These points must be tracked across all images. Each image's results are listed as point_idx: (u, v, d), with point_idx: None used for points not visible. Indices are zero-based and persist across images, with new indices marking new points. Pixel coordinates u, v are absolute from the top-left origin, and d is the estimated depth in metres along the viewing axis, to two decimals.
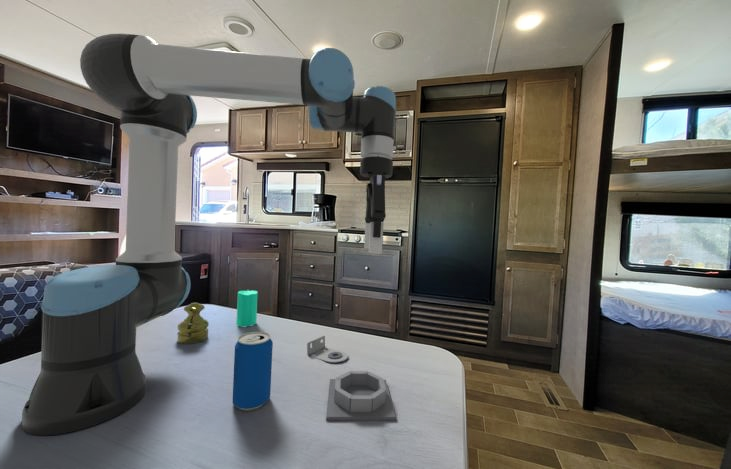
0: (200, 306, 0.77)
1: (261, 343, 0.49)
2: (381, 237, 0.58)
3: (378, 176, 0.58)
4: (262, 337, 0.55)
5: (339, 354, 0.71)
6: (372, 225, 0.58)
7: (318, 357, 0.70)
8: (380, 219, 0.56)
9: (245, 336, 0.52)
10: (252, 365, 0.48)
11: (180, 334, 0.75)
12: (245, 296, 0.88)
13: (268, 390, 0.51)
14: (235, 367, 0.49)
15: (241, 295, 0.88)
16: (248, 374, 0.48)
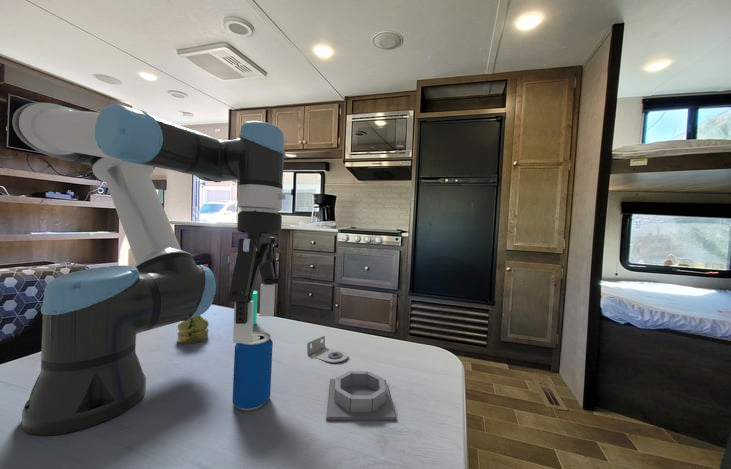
0: None
1: (261, 343, 0.49)
2: (249, 321, 0.44)
3: (245, 241, 0.44)
4: (262, 337, 0.55)
5: (339, 354, 0.71)
6: None
7: (318, 357, 0.70)
8: (241, 301, 0.42)
9: None
10: (252, 365, 0.48)
11: (180, 334, 0.75)
12: None
13: (268, 390, 0.51)
14: (235, 367, 0.49)
15: None
16: (248, 374, 0.48)
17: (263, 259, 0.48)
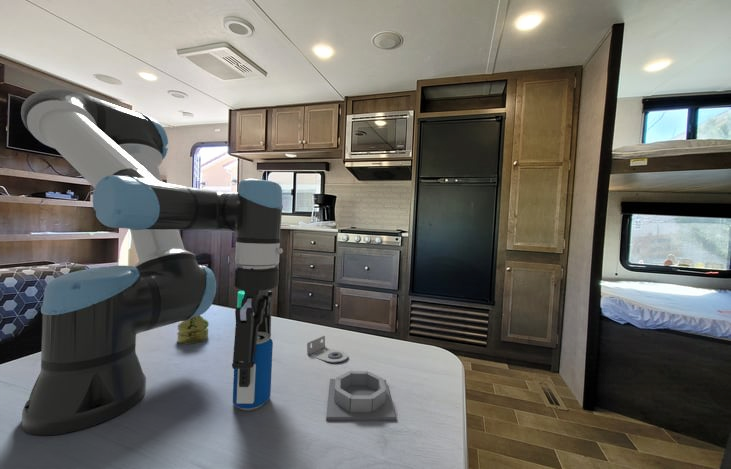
0: None
1: (261, 343, 0.49)
2: (252, 383, 0.48)
3: (241, 312, 0.45)
4: (262, 337, 0.55)
5: (339, 354, 0.71)
6: None
7: (318, 357, 0.70)
8: None
9: None
10: None
11: (180, 334, 0.75)
12: None
13: (268, 390, 0.51)
14: None
15: (241, 295, 0.88)
16: None
17: (261, 318, 0.49)
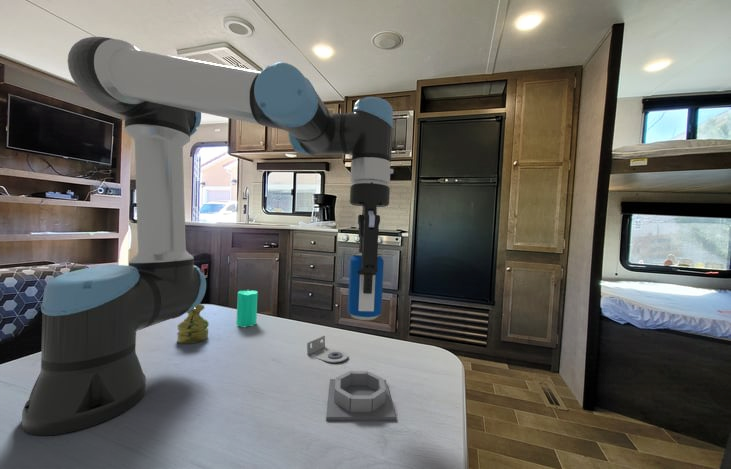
0: (200, 306, 0.77)
1: (377, 256, 0.52)
2: (373, 292, 0.50)
3: (371, 218, 0.47)
4: None
5: (339, 354, 0.71)
6: (362, 278, 0.50)
7: (318, 357, 0.70)
8: (371, 273, 0.48)
9: (355, 254, 0.55)
10: None
11: (180, 334, 0.75)
12: (245, 296, 0.88)
13: (381, 304, 0.53)
14: (353, 279, 0.51)
15: (241, 295, 0.88)
16: None
17: (378, 232, 0.51)
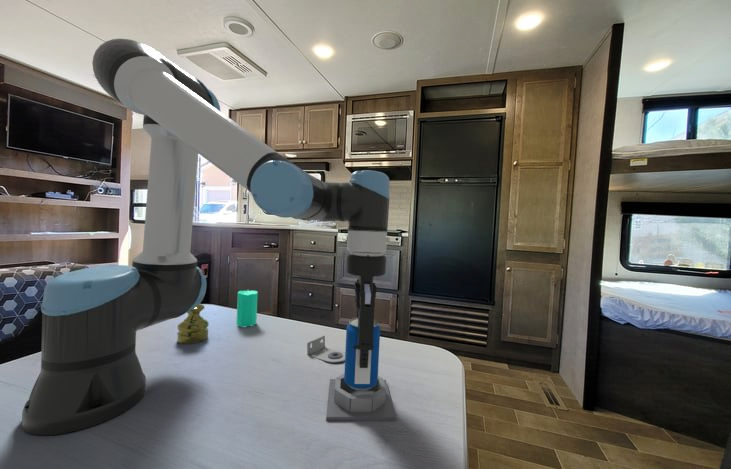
0: (200, 306, 0.77)
1: (374, 327, 0.52)
2: (369, 365, 0.50)
3: (367, 296, 0.47)
4: None
5: (339, 354, 0.71)
6: (358, 351, 0.50)
7: (318, 357, 0.70)
8: (367, 349, 0.48)
9: (352, 320, 0.55)
10: None
11: (180, 334, 0.75)
12: (245, 296, 0.88)
13: (377, 372, 0.53)
14: (350, 349, 0.52)
15: (241, 295, 0.88)
16: None
17: None
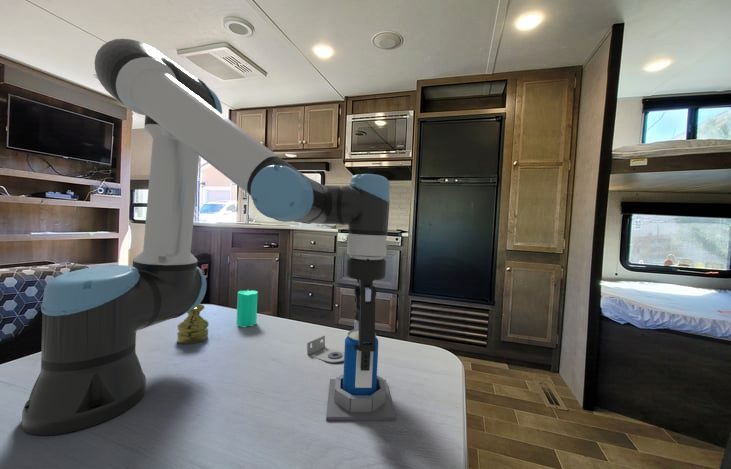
0: (200, 306, 0.77)
1: None
2: (371, 367, 0.47)
3: (367, 292, 0.47)
4: None
5: (339, 354, 0.71)
6: (359, 353, 0.47)
7: (318, 357, 0.70)
8: (369, 351, 0.45)
9: (350, 333, 0.55)
10: None
11: (180, 334, 0.75)
12: (245, 296, 0.88)
13: None
14: (348, 362, 0.52)
15: (241, 295, 0.88)
16: None
17: None
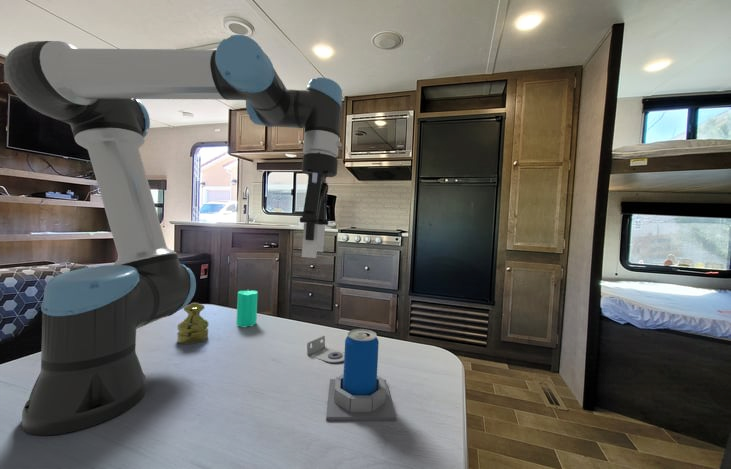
0: (200, 306, 0.77)
1: (372, 339, 0.52)
2: (315, 240, 0.54)
3: (314, 174, 0.54)
4: None
5: (339, 354, 0.71)
6: (306, 227, 0.53)
7: (318, 357, 0.70)
8: (312, 220, 0.52)
9: (351, 333, 0.55)
10: (366, 360, 0.51)
11: (180, 334, 0.75)
12: (245, 296, 0.88)
13: (376, 384, 0.53)
14: (348, 362, 0.52)
15: (241, 295, 0.88)
16: (363, 369, 0.51)
17: (324, 194, 0.58)
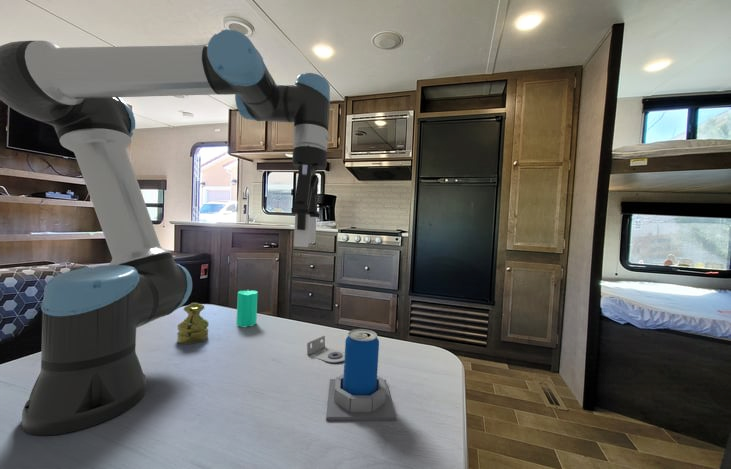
0: (200, 306, 0.77)
1: (373, 340, 0.52)
2: (307, 229, 0.55)
3: (304, 166, 0.55)
4: None
5: (339, 354, 0.71)
6: (297, 217, 0.55)
7: (318, 357, 0.70)
8: (303, 210, 0.53)
9: (351, 333, 0.55)
10: (367, 360, 0.51)
11: (180, 334, 0.75)
12: (245, 296, 0.88)
13: (376, 385, 0.53)
14: (349, 362, 0.52)
15: (241, 295, 0.88)
16: (363, 369, 0.51)
17: (314, 185, 0.59)
